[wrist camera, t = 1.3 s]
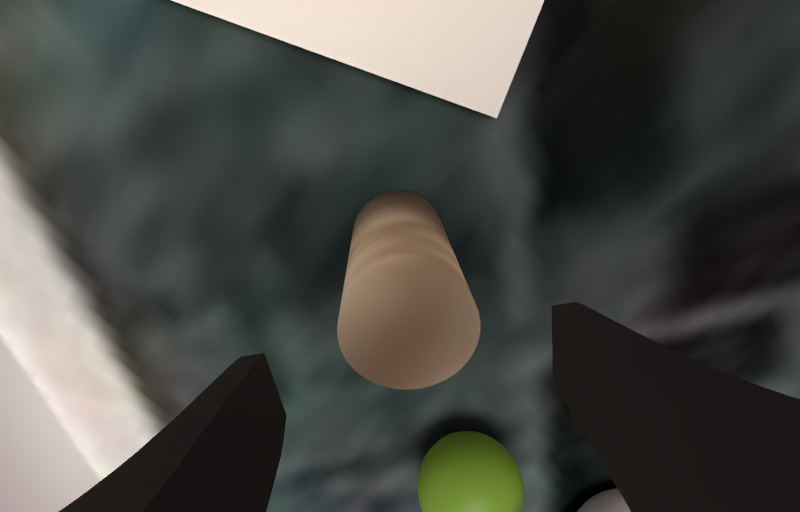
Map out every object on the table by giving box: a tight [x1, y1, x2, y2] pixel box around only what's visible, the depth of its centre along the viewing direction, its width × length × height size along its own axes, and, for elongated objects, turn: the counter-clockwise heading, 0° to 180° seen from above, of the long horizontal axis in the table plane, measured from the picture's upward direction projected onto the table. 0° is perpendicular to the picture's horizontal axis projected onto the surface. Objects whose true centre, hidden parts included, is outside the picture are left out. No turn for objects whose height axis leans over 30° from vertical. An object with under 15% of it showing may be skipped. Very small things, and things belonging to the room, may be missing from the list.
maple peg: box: [337, 190, 481, 390], centre depth 15 cm, size 4×4×8 cm
